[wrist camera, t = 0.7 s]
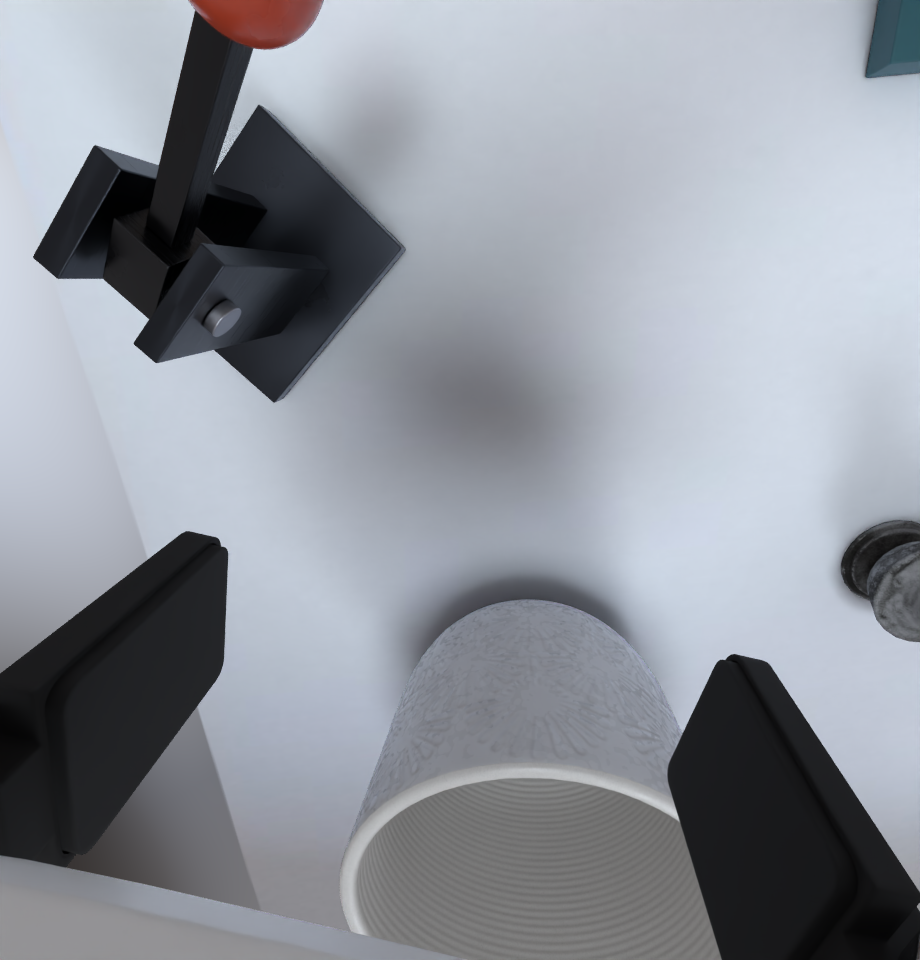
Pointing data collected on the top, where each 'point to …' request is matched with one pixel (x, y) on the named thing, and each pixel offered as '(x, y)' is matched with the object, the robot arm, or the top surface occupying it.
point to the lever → (196, 141)
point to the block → (895, 39)
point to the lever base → (239, 254)
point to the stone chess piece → (888, 575)
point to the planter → (527, 801)
